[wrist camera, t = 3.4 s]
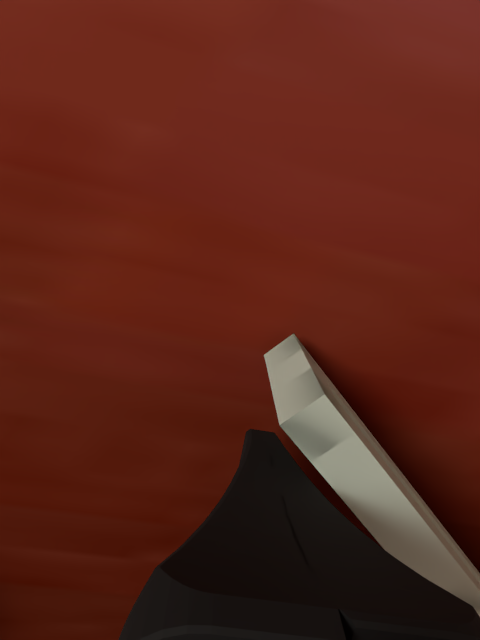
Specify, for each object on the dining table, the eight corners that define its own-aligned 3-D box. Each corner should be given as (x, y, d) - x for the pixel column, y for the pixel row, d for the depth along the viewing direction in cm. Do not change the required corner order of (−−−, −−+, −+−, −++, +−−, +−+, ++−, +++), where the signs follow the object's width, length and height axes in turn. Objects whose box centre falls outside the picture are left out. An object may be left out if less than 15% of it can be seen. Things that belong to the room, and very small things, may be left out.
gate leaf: (495, 594, 16) (594, 736, 11) (469, 608, 16) (556, 753, 11) (293, 333, 12) (324, 394, 8) (263, 354, 13) (279, 424, 8)
